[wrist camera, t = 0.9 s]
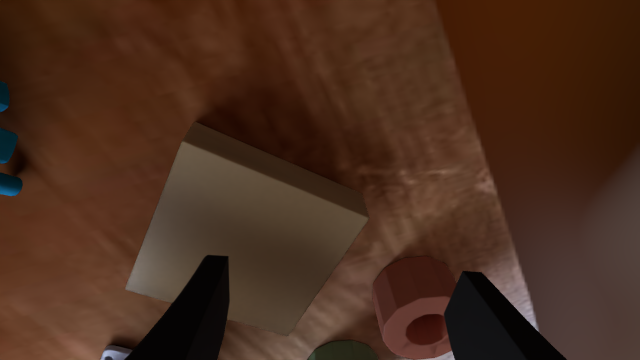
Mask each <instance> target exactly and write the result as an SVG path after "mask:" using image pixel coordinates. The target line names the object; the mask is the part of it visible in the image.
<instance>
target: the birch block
mask: <svg viewBox="0 0 640 360" xmlns="http://www.w3.org/2000/svg"><path fill="white" fill-rule="evenodd" d="M369 218H370V217H369V214H368V211H367V208H366V205H365V202H364V198H363V195H362V194H361V193H359V192H357V191H354V190H352V189H350V188H348V187H345V186H343V185H341V184H338V183H336V182H334V181H331V180H329V179H327V178H324V177H322V176H320V175H317V174H315V173H313V172H310V171H308V170H306V169H303V168H301V167H299V166H297V165H294V164H292V163H290V162H287V161H285V160H283V159H280V158H278V157H276V156H273V155H271V154H269V153H266V152H264V151H262V150H259V149H257V148H255V147H252V146H250V145H248V144H245V143H243V142H241V141H239V140H236V139H234V138H232V137H229V136H227V135H225V134H222V133H220V132H218V131H215V130H213V129H211V128H208V127H206V126H204V125H201V124H199V123H197V122H194V123H193V124H192V126H191V127H190V129H189V131H188V132H187V134H186V135H185V137H184V139H183V140H182V142H181V145H180V148H179V150H178V153H177V155H176V158H175V161H174V163H173V166H172V168H171V171H170V173H169V176H168V179H167V181H166V184H165V186H164V189H163V192H162V194H161V197H160V199H159V202H158V205H157V207H156V210H155V212H154V215H153V218H152V220H151V223H150V225H149V228H148V231H147V233H146V236H145V238H144V241H143V244H142V246H141V249H140V251H139V254H138V257H137V259H136V262H135V264H134V267H133V270H132V272H131V275H130V277H129V280H128V283H127V285H126V288H125V289H126V290H129V291H132V292H136V293H139V294H143V295H146V296H149V297H153V298H156V299H160V300H163V301H167V302H170V303H173V302H174V300H175V299H176V298H177V297H178V295H179V294H180V293H181V291H182V290H183V288H184V287H185V286H186V284H187V283H188V281H189V280H190V279H191V277H192V276H193V274H194V273H195V271H196V270H197V268H198V266H199V265H200V263H201V262H202V260H203V258H204V257H205V256H207V255H220V256H229V292H230V303H229V309H228V315H227V319H229V320H232V321H236V322H239V323H243V324H246V325H250V326H253V327H256V328H260V329H263V330H267V331H270V332H274V333H277V334H281V335H284V336H288V335H289V334H290V333H291V331H292V330H293V328H294V327H295V325H296V324H297V322H298V321H299V320H300V318H301V317H302V315H303V314H304V312H305V311H306V309H307V308H308V307H309V305H310V304H311V302H312V301H313V299H314V298H315V296H316V295H317V294H318V292H319V291H320V289H321V288H322V286H323V285H324V283H325V282H326V281H327V279H328V278H329V276H330V275H331V273H332V272H333V270H334V269H335V268H336V266H337V265H338V263H339V262H340V260H341V259H342V257H343V256H344V255H345V253H346V252H347V250H348V249H349V247H350V246H351V244H352V243H353V241H354V240H355V239H356V237H357V236H358V234H359V233H360V231H361V230H362V228H363V227H364V226H365V224H366V223H367V221H368V220H369Z"/></svg>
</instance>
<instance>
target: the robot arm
mask: <svg viewBox="0 0 640 360" xmlns="http://www.w3.org/2000/svg"><path fill="white" fill-rule="evenodd" d="M229 303H230V292H229V256H220V255H207V256H205V257H204V258H203V260H202V262H201V263H200V265H199V266H198V268H197V270H196V271H195V273H194V274H193V276H192V277H191V279H190V280H189V281H188V283H187V284H186V286H185V287H184V288H183V290H182V291H181V293H180V294H179V295H178V297H177V298H176V299H175V300H174V302H173V303H172V304H171V306H170V307H169V308H168V310H167V311H166V312H165V313H164V315H163V316H162V317H161V318H160V320H159V321H158V322H157V323H156V324H155V325H154V327H153V328H152V329H151V330H150V331H149V333H148V334H147V335H146V336H145V337H144V338H143V340H142V341H141V342H140V343H139V344H138V345H137V346H136V347H135V348H134V350H131V349H127V348H123V347H119V346H115V345H109V346H107V347H106V348H105V350H104V352H103V354H102V357H101V359H100V360H217V359H218V355H219V352H220V348H221V344H222V341H223V337H224V333H225V327H226V321H227V315H228V309H229ZM444 318H445V323H446V328H447V333H448V337H449V341H450V346H451V349H452V352H453V355H454V358H455V360H567V359H566V358H565V357H563V355H561V354H560V353H559V352H558V351H557V350H556V349H555V348H554V347H553V346H552V345H551V344H550V343H549V342H548V341H547V340H546V339H545V338H544V337H543V336H542V335H541V334H540V333H539V332H538V331H537V330H536V329H535V328H534V327H533V326H532V325H531V324H530V323H529V322H528V321H527V320H526V319H525V318H524V317H523V316H522V315H521V313H520V312H519V311H518V310H517V309H516V308H515V307H514V306H513V305H512V304H511V303H510V302H509V301H508V300H507V299H506V298H505V296H504V295H503V294H502V293H501V292H500V291H499V290H498V289H497V288H496V287H495V286H494V285H493V284H492V283H491V282H490V280H489V279H488V278H487V277H486V276H485V275H484V274H483V273H482V272H471V271H462V273H461V275H460V278H459V280H458V282H457V284H456V287H455V289H454V291H453V293H452V296H451V298H450V300H449V303H448V305H447V307H446V309H445V312H444Z"/></svg>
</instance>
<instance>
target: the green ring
mask: <svg viewBox="0 0 640 360" xmlns="http://www.w3.org/2000/svg"><path fill="white" fill-rule="evenodd" d="M308 360H378V357H377V355H376V354H375V352H374V351H373V350H372V349H371V348H370V347H369V346H368V345H366V344H363V343H359V342H356V341H353V340H347V341H335V342H330V343H328V344H326V345H324V346H322V347H320V348H317V349H316V350H314V352H313V353H312V354H311V356H310V357H309V358H308Z"/></svg>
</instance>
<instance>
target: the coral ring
mask: <svg viewBox="0 0 640 360" xmlns="http://www.w3.org/2000/svg"><path fill="white" fill-rule="evenodd" d="M456 284H457V283H456V281H455V279H454V277H453V275H452V274H451V272H450V270H449V269H448V267H447V265H446V264H445V263H443V262H441V261H438V260H436V259H433V258H431V257H428V256H421V257H408V258H403V259H401V260H399V261H397V262H395V263H393V264H391V265H389V266H387V267H385V268H384V270H383V271H382V272H381V274H380V275H379V276H378V277H377V279H376V280H375V281H374V283H373V298H372V299H373V303H374V307H375V311H376V315H377V319H378V323H379V327H380V331H381V335H382V339H383V342H384V343H385V344H386V345H387V347H388V348H389V349H390V350H391V351H392V352H393V353H394V354H396V355H399V356H402V357H405V358H409V359H413V360H416V359H428V358H435V357H438V356H441V355H443V354H445V353H448V352H450V351H452V349H451V346H450V341H449V337H448V333H447V328H446V323H445V318H444V312H445V309H446V307H447V305H448V303H449V300H450V298H451V296H452V293H453V291H454V289H455V287H456Z"/></svg>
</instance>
